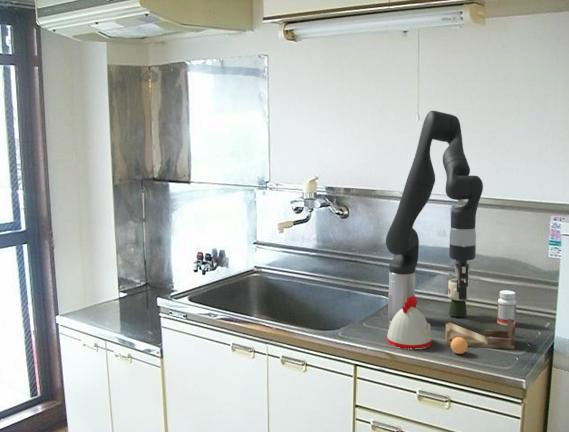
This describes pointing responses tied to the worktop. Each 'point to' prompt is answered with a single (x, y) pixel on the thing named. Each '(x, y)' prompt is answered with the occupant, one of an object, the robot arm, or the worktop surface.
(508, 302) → the pill bottle
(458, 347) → the ball
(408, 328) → the white dome
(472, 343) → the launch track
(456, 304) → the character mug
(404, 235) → the robot arm
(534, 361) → the worktop surface
